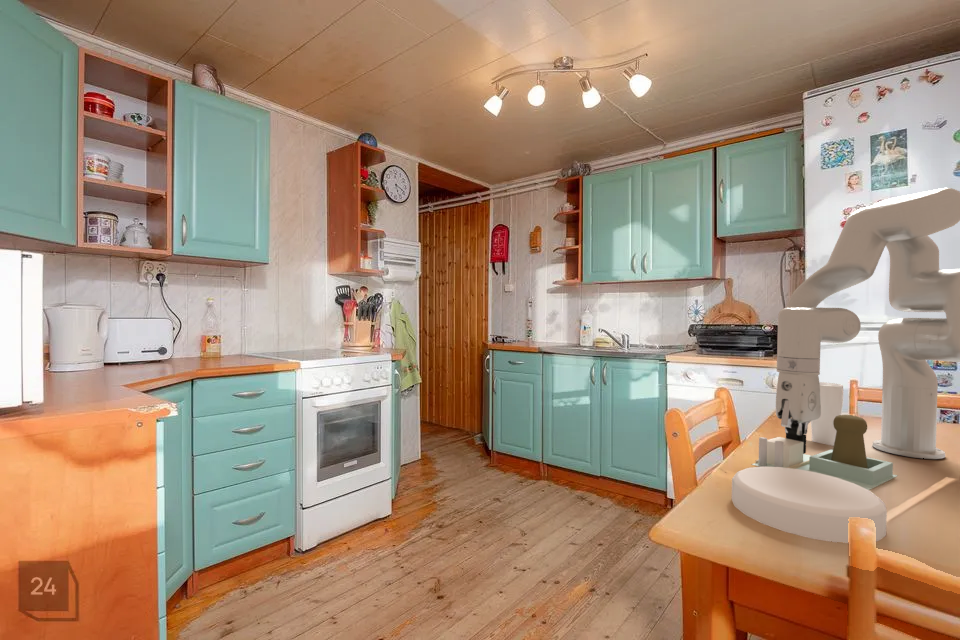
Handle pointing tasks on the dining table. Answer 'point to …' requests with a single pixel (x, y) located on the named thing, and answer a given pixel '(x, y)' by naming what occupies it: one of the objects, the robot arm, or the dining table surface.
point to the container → (805, 502)
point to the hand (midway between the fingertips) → (795, 452)
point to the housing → (786, 451)
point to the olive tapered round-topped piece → (850, 440)
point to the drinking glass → (827, 413)
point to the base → (832, 466)
